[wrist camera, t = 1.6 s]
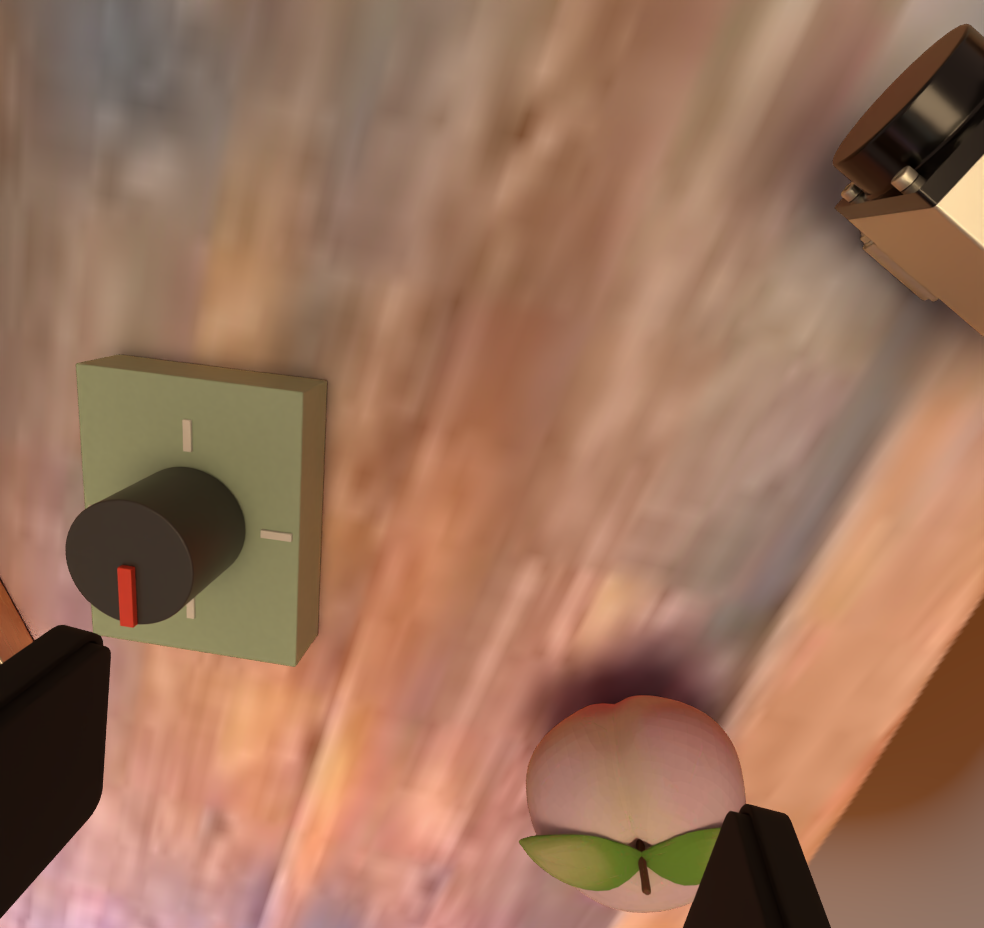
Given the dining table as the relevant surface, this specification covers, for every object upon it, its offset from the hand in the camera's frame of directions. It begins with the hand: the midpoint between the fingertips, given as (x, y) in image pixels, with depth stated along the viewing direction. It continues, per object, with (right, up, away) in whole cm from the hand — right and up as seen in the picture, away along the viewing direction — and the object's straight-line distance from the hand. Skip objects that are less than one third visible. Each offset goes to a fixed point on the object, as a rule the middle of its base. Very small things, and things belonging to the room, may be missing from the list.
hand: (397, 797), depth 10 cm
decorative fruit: (+8, -8, +25) cm, 28 cm away
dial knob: (-12, +2, +21) cm, 25 cm away
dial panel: (-12, +3, +24) cm, 27 cm away
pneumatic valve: (+18, +14, +17) cm, 29 cm away
